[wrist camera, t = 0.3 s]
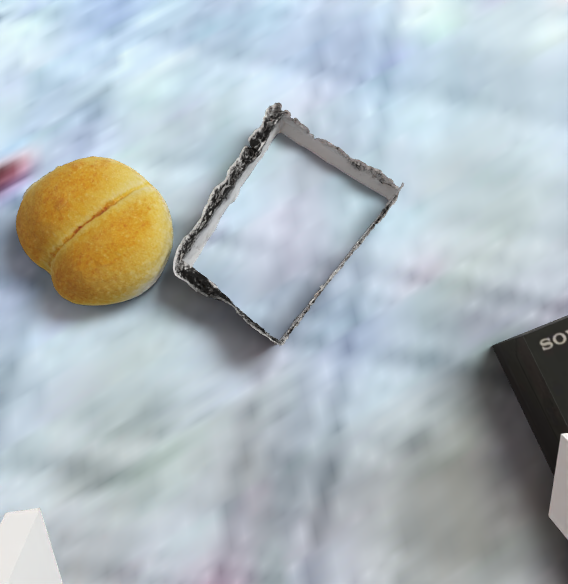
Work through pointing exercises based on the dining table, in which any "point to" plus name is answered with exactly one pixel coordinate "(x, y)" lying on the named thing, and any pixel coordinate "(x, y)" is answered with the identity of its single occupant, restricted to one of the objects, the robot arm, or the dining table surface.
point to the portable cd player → (540, 381)
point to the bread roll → (96, 230)
